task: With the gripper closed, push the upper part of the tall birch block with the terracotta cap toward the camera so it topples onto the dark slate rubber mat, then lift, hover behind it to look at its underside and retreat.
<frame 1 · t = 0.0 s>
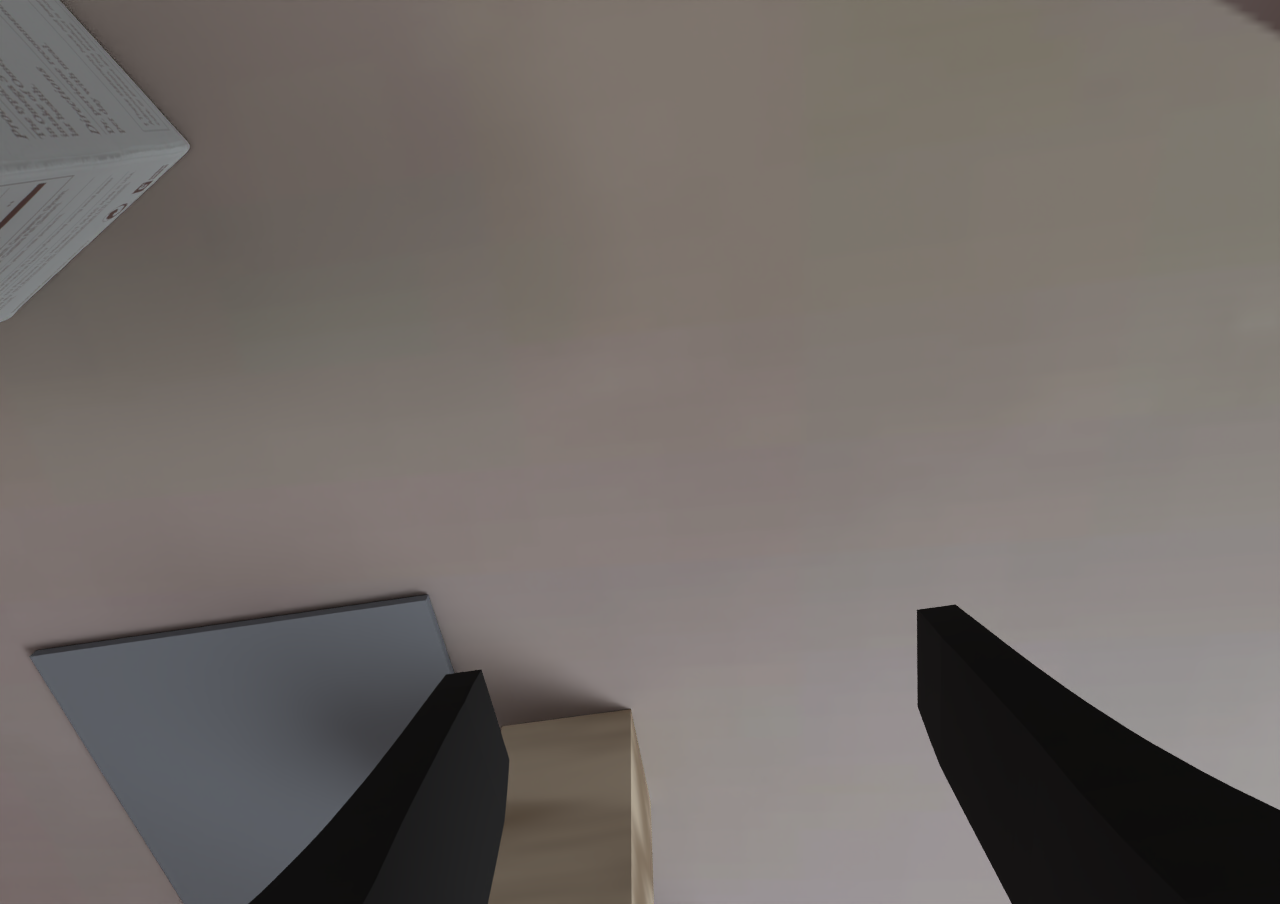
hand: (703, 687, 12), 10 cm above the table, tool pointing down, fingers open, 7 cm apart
tall block: (578, 765, 27), on the table
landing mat: (313, 800, 27), on the table
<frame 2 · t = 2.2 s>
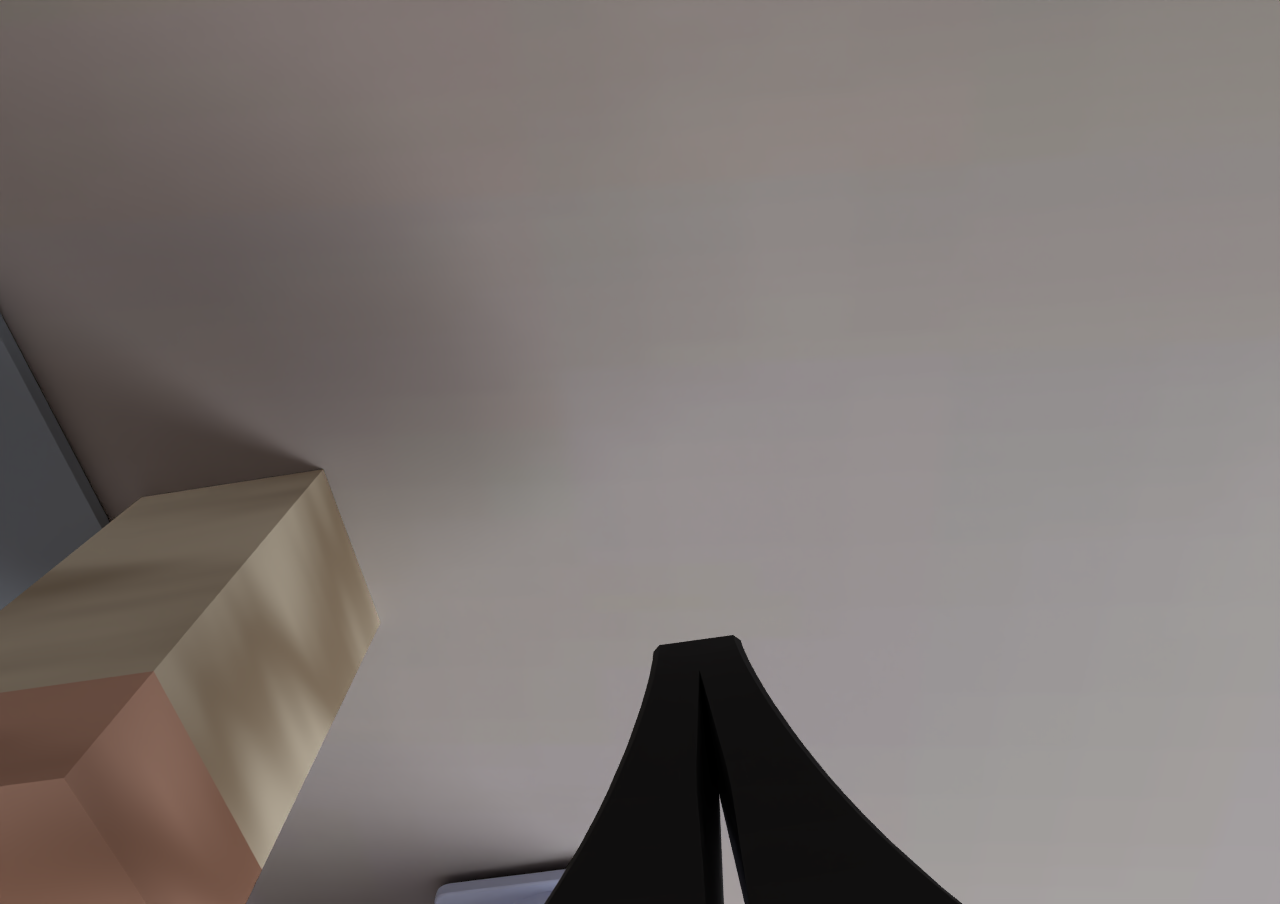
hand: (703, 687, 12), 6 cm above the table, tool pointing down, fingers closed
tall block: (266, 562, 19), on the table
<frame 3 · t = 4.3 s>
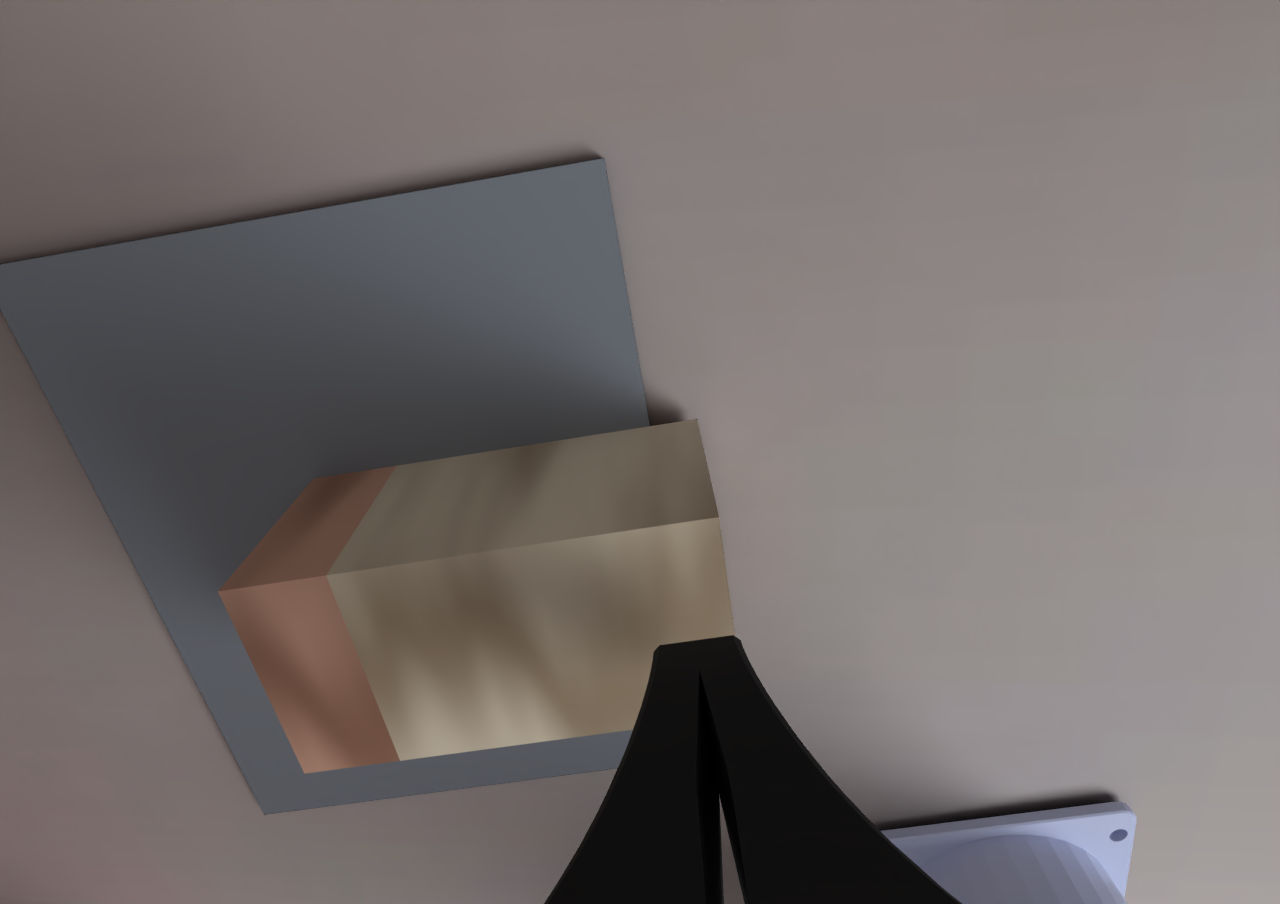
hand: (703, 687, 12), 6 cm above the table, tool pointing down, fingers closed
tall block: (719, 556, 16), point 3 cm above the table, tilted 90°, touching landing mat
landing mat: (403, 545, 19), on the table
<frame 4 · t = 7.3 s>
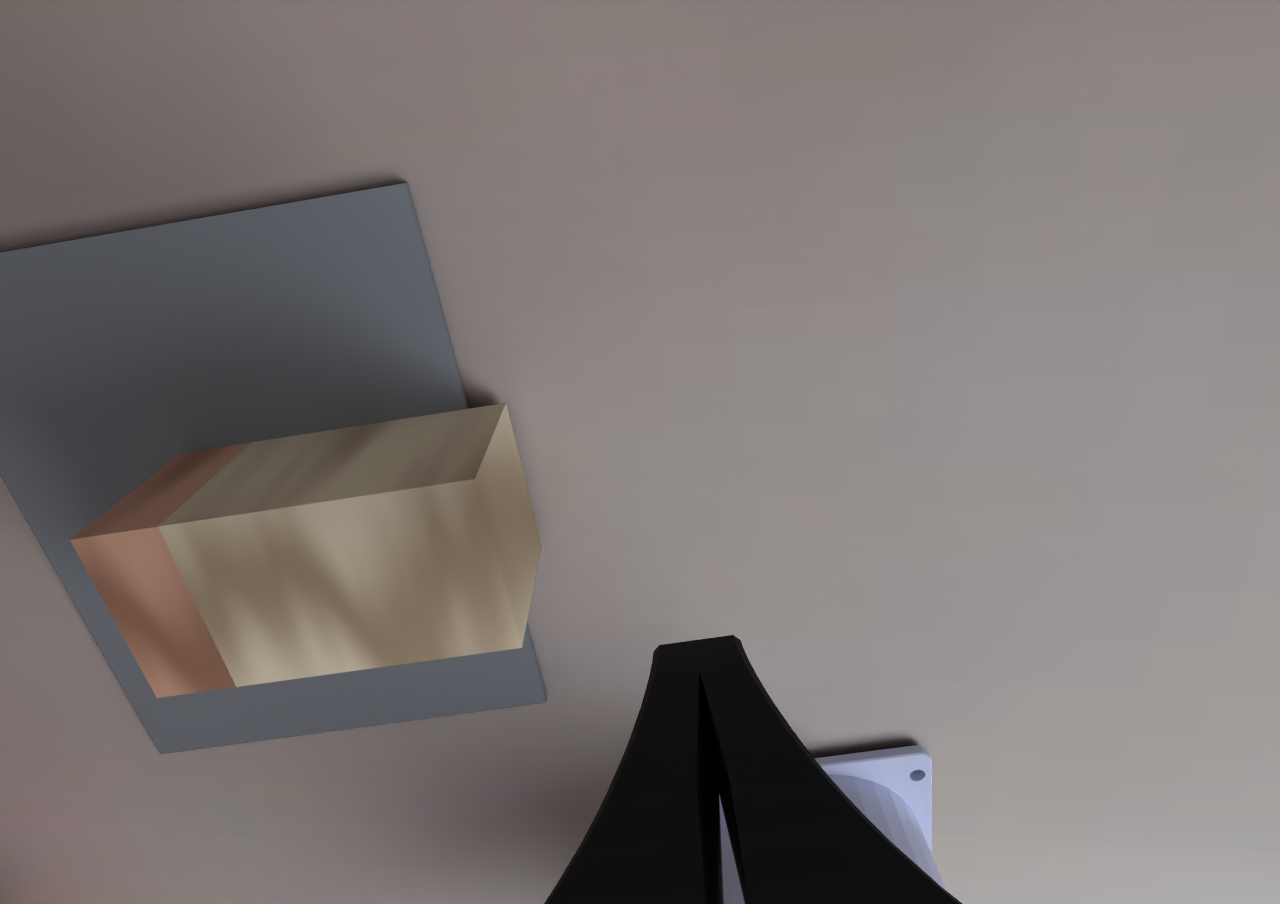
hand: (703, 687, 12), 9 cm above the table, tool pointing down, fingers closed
tall block: (513, 518, 19), point 3 cm above the table, tilted 90°, touching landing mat
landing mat: (266, 512, 22), on the table
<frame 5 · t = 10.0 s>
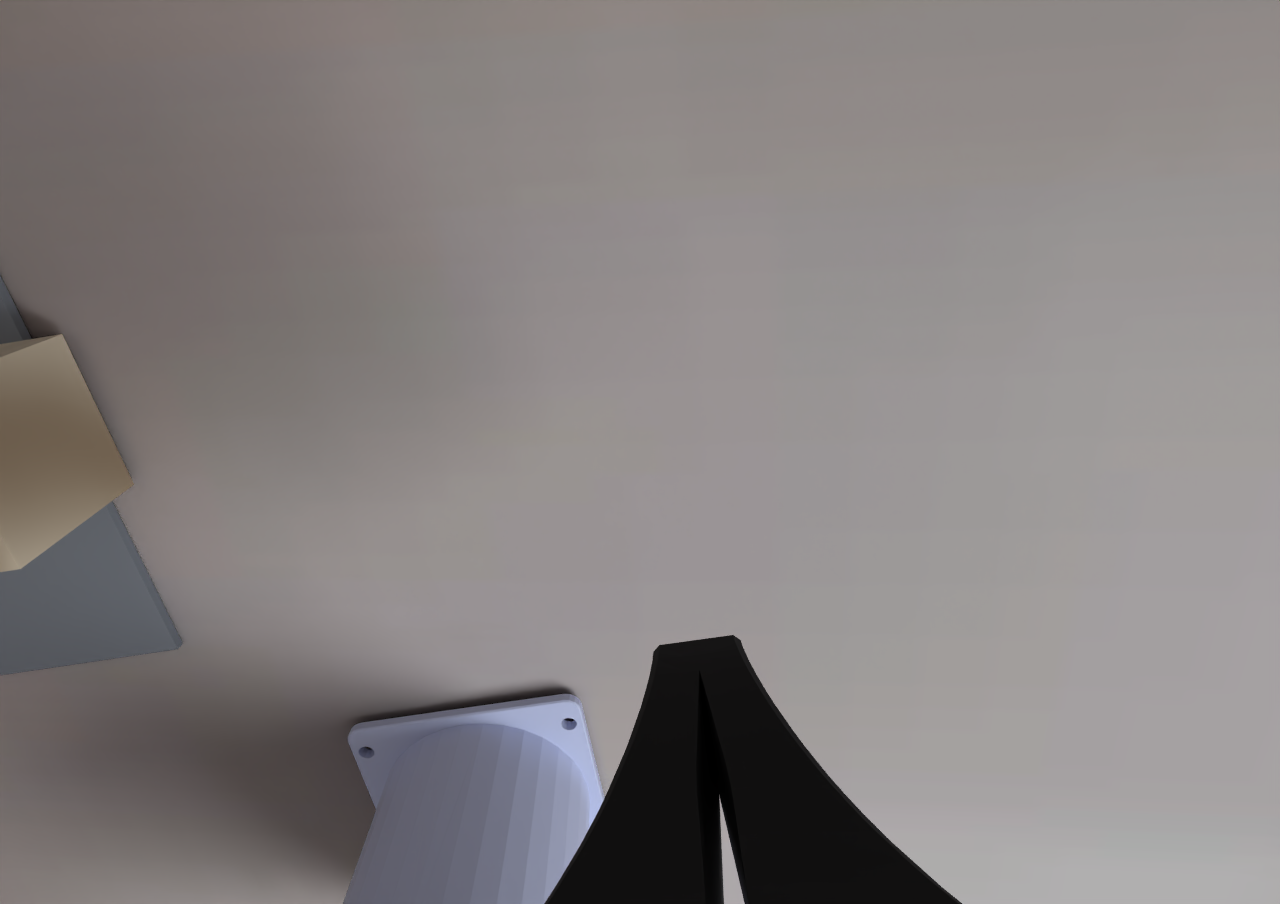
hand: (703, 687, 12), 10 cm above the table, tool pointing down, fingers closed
tall block: (42, 444, 19), point 3 cm above the table, tilted 90°, touching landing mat
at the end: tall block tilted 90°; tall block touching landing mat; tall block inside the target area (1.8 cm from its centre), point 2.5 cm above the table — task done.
